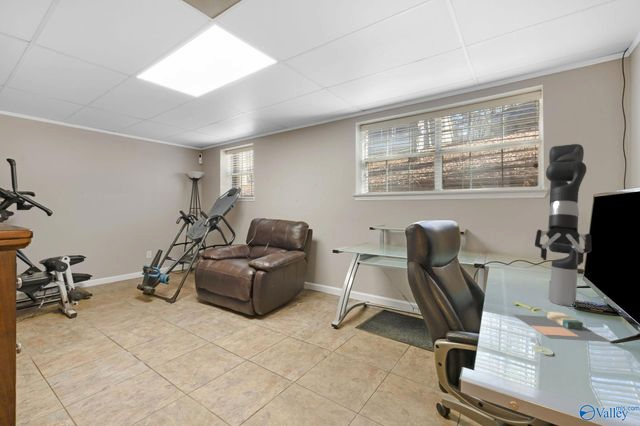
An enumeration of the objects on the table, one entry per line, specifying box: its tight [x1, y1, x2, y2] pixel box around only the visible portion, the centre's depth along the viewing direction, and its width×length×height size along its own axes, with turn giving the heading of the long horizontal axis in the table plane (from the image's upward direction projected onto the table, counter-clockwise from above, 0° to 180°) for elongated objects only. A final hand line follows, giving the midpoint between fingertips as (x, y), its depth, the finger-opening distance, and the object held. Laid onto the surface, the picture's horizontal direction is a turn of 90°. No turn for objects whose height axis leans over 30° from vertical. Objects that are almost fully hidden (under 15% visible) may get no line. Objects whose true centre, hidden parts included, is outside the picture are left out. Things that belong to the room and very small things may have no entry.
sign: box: [531, 340, 554, 357], centre depth 88 cm, size 5×1×15 cm
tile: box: [546, 311, 584, 329], centre depth 104 cm, size 10×5×2 cm, turn 175°
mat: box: [512, 314, 613, 343], centre depth 100 cm, size 20×20×1 cm
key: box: [512, 301, 548, 315], centre depth 118 cm, size 7×12×2 cm, turn 45°
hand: (560, 262), depth 90 cm, fingers open, 8 cm apart
